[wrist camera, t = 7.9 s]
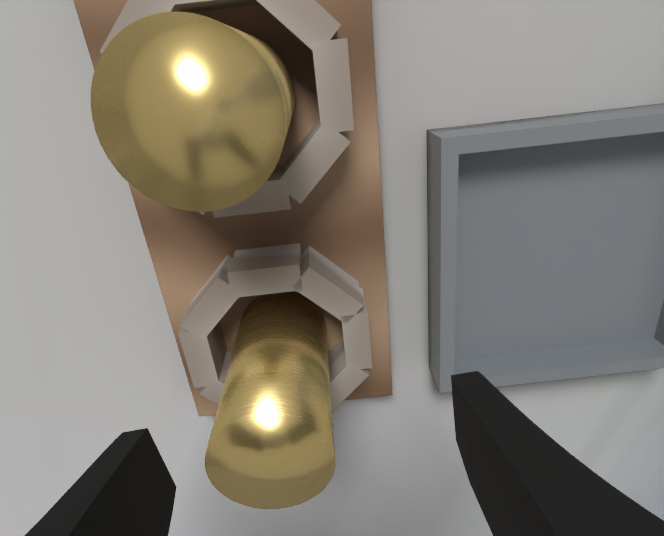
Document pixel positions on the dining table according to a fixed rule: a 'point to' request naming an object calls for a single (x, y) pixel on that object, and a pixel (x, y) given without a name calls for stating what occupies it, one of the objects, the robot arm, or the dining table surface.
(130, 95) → the cylinder
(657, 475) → the dining table surface
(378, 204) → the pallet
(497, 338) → the grey square tray
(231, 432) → the cylinder
